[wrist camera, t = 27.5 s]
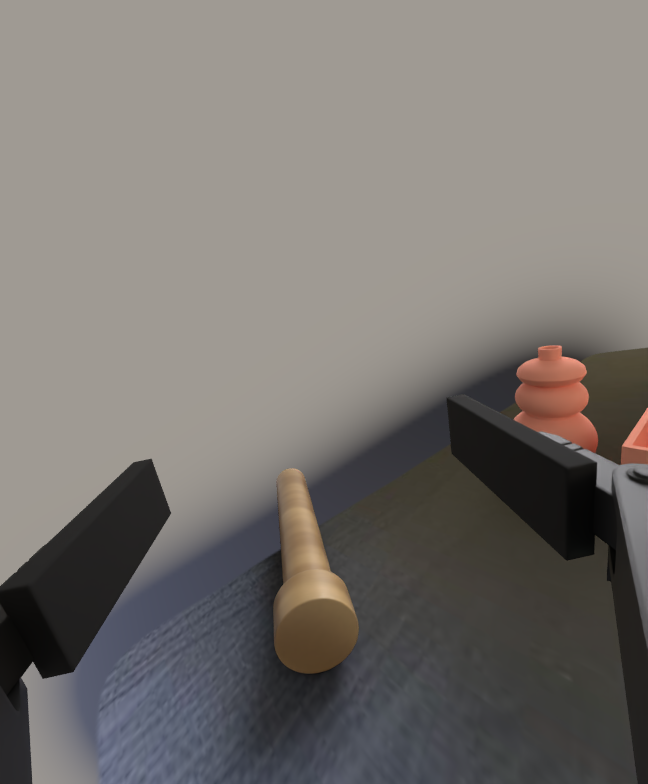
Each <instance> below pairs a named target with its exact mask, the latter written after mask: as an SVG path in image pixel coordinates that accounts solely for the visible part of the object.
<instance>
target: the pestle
mask: <svg viewBox="0 0 648 784" xmlns="http://www.w3.org/2000/svg"><path fill="white" fill-rule="evenodd" d="M276 483H277V484H276V485H277V499H278V511H279V512H278V514H279V528H280V543H281V557H282V572H283V585H282V587H281V588H280V590H279V591H278V593H277V595H276V597H275V600H274V605H273V621H274V647H275V651H276V654H277V656H278V658H279V659H280V661H281V662H282V663H283V664H284V665H285V666H286V667H288V668H290V669H291V670H293V671H296V672H300V673H306V674H313V673H319V672H323V671H326V670H329V669H331V668H333V667H335V666H337V665H338V664H339V663H341V662H342V661H343V660H344V659H345V658H346V657H347V656H348V655H349V654H350V653H351V651H352V650H353V648H354V646H355V644H356V641H357V638H358V632H359V625H358V620H357V617H356V614H355V611H354V608H353V605H352V602H351V598H350V595H349V592H348V589H347V587H346V585H345V583H344V582H343V581H342V580H341V579H340V578H339V577H338V576H337V575H335V574H334V573H332V572H331V570H330V567H329V563H328V560H327V556H326V552H325V549H324V545H323V542H322V538H321V534H320V531H319V527H318V524H317V520H316V517H315V513H314V509H313V506H312V502H311V499H310V495H309V492H308V488H307V484H306V481H305V477H304V475H303V473H301V472H300V471H299V470H297V469H287V470H284V471H283V472H281V473H280V475H279V476H278V478H277V482H276Z"/></svg>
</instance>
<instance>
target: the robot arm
mask: <svg viewBox="0 0 648 784" xmlns="http://www.w3.org/2000/svg"><path fill="white" fill-rule="evenodd" d="M447 407H448V417H449V428H450V439H451V450H452V454H453V455H454V456H455V457H456V458H457V459H458V460H459V461H460V462H461V463H462V464H463V465H465V466H466V467H467V468H468V469H469V470H470V471H471V472H472V473H473V474H474V475H475V476H476V477H477V478H479V479H480V480H481V481H482V482H483V483H484V484H485V485H486V486H487V487H488V488H489V489H490V490H491V491H492V492H494V493H495V494H496V495H497V496H498V497H499V498H500V499H501V500H502V501H503V502H504V503H505V504H506V505H508V506H509V507H510V508H511V509H512V510H513V511H514V512H515V513H516V514H517V515H518V516H519V517H520V518H522V519H523V520H524V521H525V522H526V523H527V524H528V525H529V526H530V527H531V528H532V529H533V530H534V531H535V532H537V533H538V534H539V535H540V536H541V537H542V538H543V539H544V540H545V541H546V542H547V543H548V544H549V545H551V546H552V547H553V548H554V549H555V550H556V551H557V552H558V553H559V554H560V555H561V556H562V557H563V558H564V559H566V560H571V559H576V558H580V557H585V556H589V555H593V554H594V541H595V535H596V536H597V537H599V538H600V539H601V540H603V541H604V542H605V543H607V544H608V545H609V547H608V567H607V581H611V583H612V591H613V599H614V606H615V614H616V621H617V629H618V637H619V644H620V652H621V659H622V667H623V675H624V682H625V690H626V697H627V705H628V713H629V720H630V728H631V736H632V743H633V751H634V758H635V766H636V774H637V781H638V784H648V464H634V463H630V464H623V465H618V464H616V463H614V462H612V461H610V460H608V459H606V458H604V457H602V456H600V455H598V454H596V453H593V452H591V451H589V450H587V449H583V447H581V446H579V445H577V444H575V443H573V444H572V442H571V441H569V440H566V439H564V438H562V437H560V436H558V435H554V434H550V433H546V432H542V431H540V432H537V431H535V430H533V429H531V428H529V427H527V426H525V425H523V424H521V423H519V422H517V421H515V420H513V419H511V418H509V417H507V416H505V415H503V414H501V413H499V412H497V411H495V410H493V409H491V408H489V407H487V406H485V405H483V404H482V403H480V402H478V401H476V400H473V399H472V398H470V397H468V396H466V395H464V394H462V395H457V396H452V397H448V398H447ZM170 514H171V512H170V509H169V506H168V503H167V501H166V498H165V495H164V492H163V490H162V487H161V484H160V481H159V479H158V476H157V473H156V470H155V467H154V465H153V462H152V459H148V460H144V461H138V462H134V463H133V464H131V465H130V466H129V467H128V468H127V469H126V470H125V471H124V472H123V473H122V474H121V475H120V476H119V477H118V478H117V479H115V480H114V481H113V482H112V483H111V484H110V485H109V486H108V487H107V488H106V489H105V490H104V491H103V492H102V493H101V494H99V495H98V496H97V497H96V498H95V499H94V500H93V501H92V502H91V503H90V504H89V505H88V506H87V507H86V508H85V509H83V511H81V512H80V513H79V514H78V515H77V516H76V517H75V518H74V519H73V520H72V521H71V522H70V523H69V524H68V525H67V526H65V527H64V528H63V529H62V530H61V531H60V532H59V533H58V534H57V535H56V536H55V537H54V538H53V539H52V540H50V541H49V542H48V543H47V544H46V545H44V546H43V547H42V548H41V549H40V550H39V551H37V553H35V554H34V555H33V556H32V557H31V558H30V559H29V561H28V562H26V563H25V564H24V565H22V566H21V567H20V568H19V569H18V571H17V572H16V573H14V574H13V575H12V576H11V577H10V578H9V579H8V580H7V581H5V582H4V583H3V584H2V585H1V586H0V784H32V771H31V752H30V733H29V715H28V695H27V688H26V686H25V684H24V682H23V680H22V679H21V677H22V675H23V674H24V672H25V671H26V670H27V668H28V667H29V666H30V665H31V663H32V662H34V664H35V666H36V668H37V669H38V671H39V673H40V674H41V676H42V678H43V679H44V678H49V677H53V676H57V675H62V674H67V673H71V672H74V670H75V668H76V666H77V665H78V663H79V662H80V660H81V658H82V657H83V655H84V654H85V652H86V650H87V649H88V647H89V646H90V644H91V642H92V641H93V639H94V637H95V636H96V634H97V633H98V631H99V629H100V628H101V626H102V625H103V623H104V621H105V620H106V618H107V616H108V615H109V613H110V612H111V610H112V608H113V607H114V605H115V603H116V602H117V600H118V599H119V597H120V595H121V594H122V592H123V590H124V588H125V587H126V585H127V584H128V582H129V580H130V579H131V577H132V575H133V574H134V573H135V571H136V569H137V568H138V566H139V564H140V563H141V561H142V560H143V558H144V556H145V555H146V553H147V552H148V550H149V548H150V547H151V545H152V543H153V542H154V540H155V539H156V537H157V535H158V534H159V532H160V530H161V529H162V527H163V526H164V524H165V522H166V521H167V519H168V517H169V516H170Z"/></svg>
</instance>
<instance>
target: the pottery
mask: <svg viewBox="0 0 648 784" xmlns="http://www.w3.org/2000/svg"><path fill="white" fill-rule="evenodd" d="M561 354H562V347H561V346H543V347H539V348H538V358H536V359H532V360H530V361H527V362H525V363H524V364H523V365H521V366H520V367H519V368H518V371H517V376H518V378H519V379H520V380H521V382H523V384H521V385H520V387H519V388H518V389H517V391H516V394H515V399H516V403H517V405H518V406H519V408H520V409H521V410H523V411H522V412H521V413H520V414H518V415H517V416H516V417H515V419H514V420H515V421H517V422H519V423H521V424H523V425H525V426H527V427H529V428H531V429H533V430H535V431H537V432H540V431H542V432H546V433H550V434H554V435H558V436H560V437H562V438H564V439H566V440H569V441H571V442H572V444H573V443H575V444H577V445H579V446H581V447H583V449H587V450H589V451H591V452H593V453H595V451H596V448H597V445H598V436H597V432H596V430H595V428H594V426H593V424H592V423H591V422H590V421H589V419H587V418H586V417H585V416H584V415H583V414H581V413H580V411H582V410H583V409H584V408H585V406H586V405H587V404H588V399H589V395H588V392H587V389H586V388H585V387H584V386H583V385H582V384H581V383H580V382H579V381H581V380H582V379H583V377H584V376H585V375H586V373H587V371H586V368H585V366H584V365H583V364H582V363H580V362H579V361H577V360H575V359H572V358H567V357H561ZM630 463H634V464H648V408H647V410H646V411H645V413H644V414H643V416H642V417H641V419H640V420H639V422H638V423H637V425H636V426H635V428H634V429H633V431H632V432H631V434H630V435H629V437H628V438H627V440H626V441H625V443H624V444H623V445H622V455H621V465H623V464H630Z"/></svg>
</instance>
